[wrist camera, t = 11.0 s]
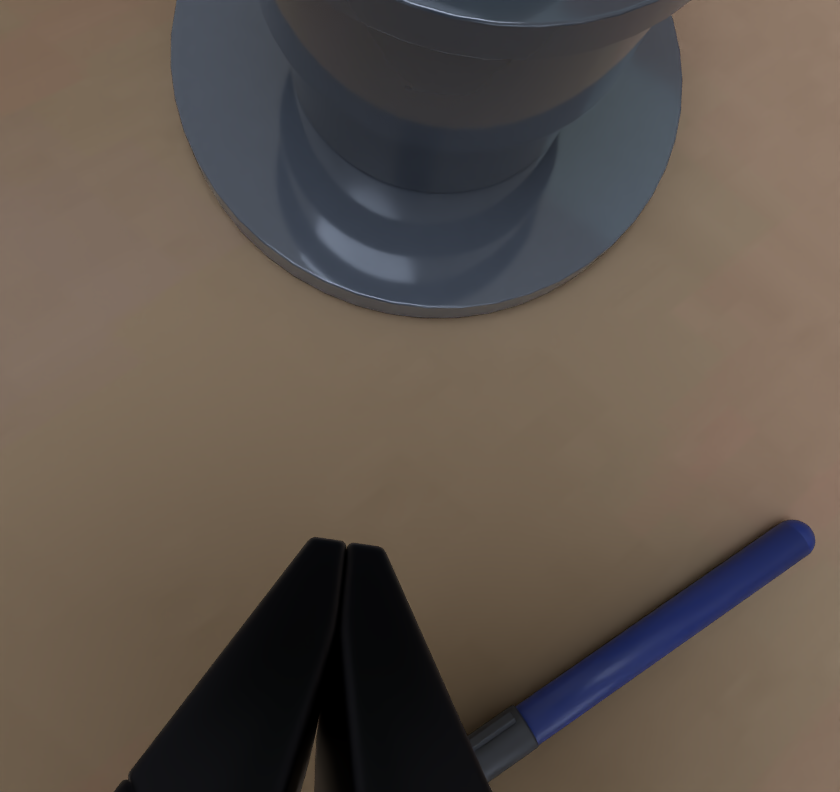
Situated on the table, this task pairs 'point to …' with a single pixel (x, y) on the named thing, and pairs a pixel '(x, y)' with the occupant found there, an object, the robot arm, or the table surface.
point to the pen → (638, 648)
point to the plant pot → (430, 138)
